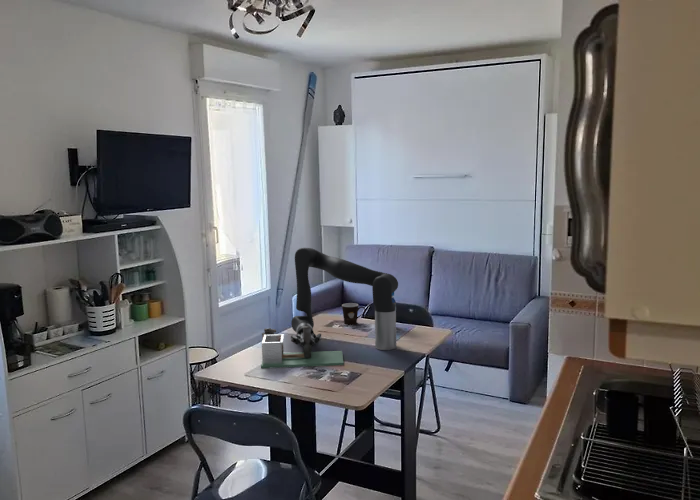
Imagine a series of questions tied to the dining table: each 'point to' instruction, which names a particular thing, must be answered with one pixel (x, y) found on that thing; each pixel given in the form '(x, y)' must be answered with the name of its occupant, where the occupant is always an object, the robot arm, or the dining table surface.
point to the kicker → (306, 345)
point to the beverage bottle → (395, 306)
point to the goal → (272, 349)
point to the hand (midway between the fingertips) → (307, 343)
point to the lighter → (269, 332)
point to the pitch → (310, 360)
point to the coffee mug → (351, 313)
